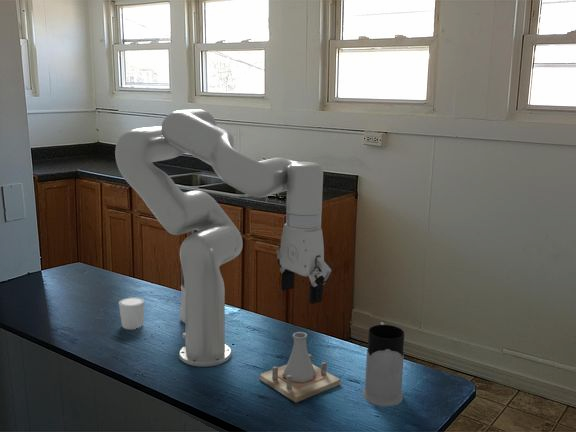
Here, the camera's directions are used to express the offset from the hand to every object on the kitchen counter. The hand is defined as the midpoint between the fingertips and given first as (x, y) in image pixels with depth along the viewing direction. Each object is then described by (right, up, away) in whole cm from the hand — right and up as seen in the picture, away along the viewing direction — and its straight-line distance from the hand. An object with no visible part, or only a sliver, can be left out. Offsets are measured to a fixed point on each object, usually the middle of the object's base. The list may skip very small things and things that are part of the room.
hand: (301, 295), depth 135 cm
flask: (0, -19, +4) cm, 19 cm away
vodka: (-29, -12, +38) cm, 49 cm away
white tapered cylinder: (-46, -13, +33) cm, 58 cm away
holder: (+18, -21, +1) cm, 28 cm away
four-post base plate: (0, -20, +4) cm, 20 cm away
